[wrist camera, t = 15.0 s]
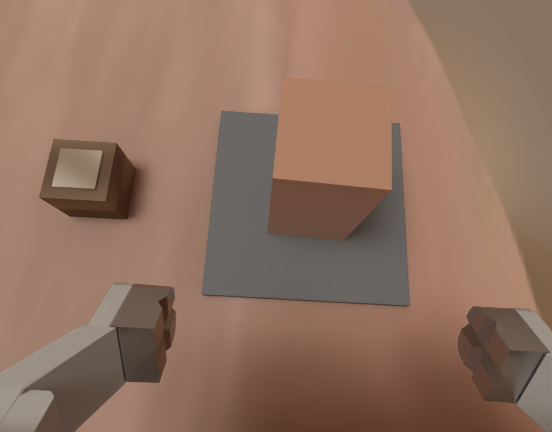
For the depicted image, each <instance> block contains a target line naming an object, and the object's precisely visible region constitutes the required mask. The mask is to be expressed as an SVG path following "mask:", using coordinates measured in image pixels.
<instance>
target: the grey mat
mask: <svg viewBox="0 0 552 432" xmlns="http://www.w3.org/2000/svg"><path fill="white" fill-rule="evenodd" d="M278 117H279V115H273V114H259V113H245V112H231V111H221V119H220V129H219V138H218V147H217V157H216V166H215V176H214V185H213V194H212V204H211V213H210V223H209V232H208V241H207V251H206V260H205V270H204V279H203V288H202V295H211V296H230V297H248V298H266V299H284V300H303V301H321V302H339V303H358V304H376V305H394V306H410V304H409V286H408V268H407V249H406V231H405V213H404V194H403V176H402V158H401V140H400V123H392V190H391V191H390V193H389V194H388V195H387V196H386V197H385V198H384V199H383V200H382V201H381V202H380V203H379V204H378V205H377V206H376V207H375V208H374V209H373V210H372V211H371V212H370V213H369V214H368V216H367V217H366V218H365V219H364V220H363V221H362V222H361V223H360V224H359V225H358V226H357V227H356V228H355V229H354V230H353V231H352V232H351V233H350V234H349V235H348V236H347V237H346V239H345V240H344V241H338V240H328V239H318V238H307V237H297V236H287V235H277V234H267V229H268V219H269V208H270V198H271V188H272V178H273V168H274V157H275V147H276V137H277V127H278Z"/></svg>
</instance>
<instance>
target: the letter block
mask: <svg viewBox="0 0 552 432" xmlns="http://www.w3.org/2000/svg"><path fill="white" fill-rule="evenodd" d="M134 172H135V167H134V166H133V165H132V163H131V162H130V161H129V159H128V158H127V157H126V155H125V154H124V153H123V151H122V150H121V148H120V147H119V146H118V144H117V143H107V142H92V141H76V140H60V139H53V143H52V148H51V152H50V156H49V160H48V164H47V168H46V172H45V176H44V180H43V184H42V188H41V192H40V196H39V198H41V199H42V200H44V201H46V202H47V203H49V204H51V205H52V206H54V207H55V208H57V209H59V210H60V211H62V212H64V213H65V214H67V215H68V216H73V217H91V218H109V219H127V214H128V208H129V202H130V196H131V190H132V184H133V178H134Z"/></svg>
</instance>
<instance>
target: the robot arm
mask: <svg viewBox="0 0 552 432" xmlns="http://www.w3.org/2000/svg"><path fill="white" fill-rule="evenodd" d="M174 300H175V295H174V289H173V287H168V286H156V285H145V284H130V283H117V282H116V283H115V284H113V285H112V286H111V288H110V289H109V291H108V293H107V294H106V296H105V297H104V299H103V301H102V302H101V304H100V305H99V307H98V309H97V310H96V312H95V313H94V315H93V317H92V318H91V320H90V321H89V323H88V325H87V326H83V325H81V326H79V327H77V328H76V329H74V330H72V331H71V332H69V333H67V334H65V335H64V336H62V337H60V338H59V339H57V340H55V341H53V342H52V343H50V344H48V345H47V346H45V347H43V348H42V349H40V350H38V351H36V352H35V353H33V354H31V355H30V356H28V357H26V358H25V359H23V360H21V361H19V362H18V363H16V364H14V365H13V366H11V367H9V368H7V369H6V370H4V371H2V372H1V373H0V432H74V431H76V430H77V429H78V428H79V427H80V426H81V425H82V424H83V423H84V422H85V421H86V420H87V419H88V418H89V417H90V416H91V415H92V414H93V413H95V412H96V411H97V410H98V409H99V408H100V407H101V406H102V405H103V404H104V403H105V402H106V401H107V400H108V399H109V398H110V397H111V396H112V395H114V394H115V393H116V392H117V391H118V390H119V389H120V388H121V387H122V386H123V385H124V384H125V382H154V383H159V382H160V379H161V376H162V373H163V370H164V367H165V364H166V351H167V350H168V349H169V348H170V347H171V345H172V342H173V339H174V333H175V328H176V312H175V310H174V309H173V308H172V306H173V303H174ZM467 320H468V322H469V324H468V325H467V326H465V327H464V328H462V329H461V331H460V334H459V337H458V350H459V354H460V357H461V359H462V361H463V363H464V364H465V365H466V366H467V367H468V368H470V369H471V370H472V371H474V372H473V376H472V379H473V381H474V383H475V385H476V387H477V389H478V390H479V392H480V394H481V396H482V398H483V400H484V401H496V402H508V403H517V404H516V405H517V406H518V407H519V408H520V409H521V410H523V411H524V412H525V413H526V414H527V415H528V416H529V417H530V418H531V419H532V420H534V421H535V422H536V423H537V424H538V425H539V426H540V427H541V428H542V429H543V430H545V431H546V432H552V331H551V330H550V328H549V327H548V326H547V325H546V324H545V323H544V322H543V321H542V319H541V318H540V317H539V316H538V315H537V314H536V313H535V312H534V311H532V310H530V309H525V308H496V307H479V306H473V307H472V308H471V309H470V310H469V312H468V315H467Z"/></svg>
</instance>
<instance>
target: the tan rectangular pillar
mask: <svg viewBox="0 0 552 432" xmlns="http://www.w3.org/2000/svg"><path fill="white" fill-rule="evenodd" d="M391 190H392V117H391V88H384V87H374V86H365V85H356V84H346V83H337V82H327V81H318V80H308V79H299V78H289V77H282V87H281V97H280V107H279V117H278V127H277V137H276V147H275V157H274V168H273V178H272V188H271V198H270V208H269V219H268V229H267V234H277V235H287V236H297V237H307V238H318V239H328V240H338V241H344V240H345V239H346V237H347V236H348V235H349V234H350V233H351V232H352V231H353V230H354V229H355V228H356V227H357V226H358V225H359V224H360V223H361V222H362V221H363V220H364V219H365V218H366V217H367V216H368V214H369V213H370V212H371V211H372V210H373V209H374V208H375V207H376V206H377V205H378V204H379V203H380V202H381V201H382V200H383V199H384V198H385V197H386V196H387V195H388V194H389V193H390V191H391Z"/></svg>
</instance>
